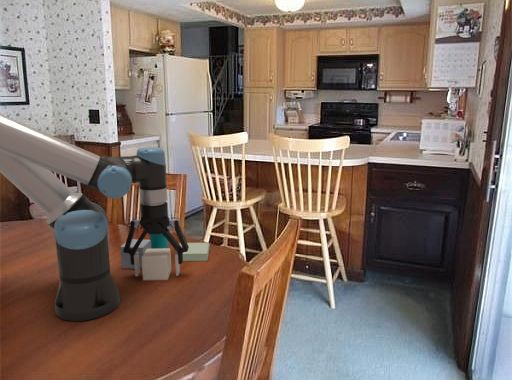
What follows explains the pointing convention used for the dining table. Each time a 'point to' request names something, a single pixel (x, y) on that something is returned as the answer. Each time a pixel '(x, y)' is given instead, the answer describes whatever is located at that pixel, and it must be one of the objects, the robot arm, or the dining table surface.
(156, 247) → the beverage can
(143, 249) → the gray cube
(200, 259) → the base plate
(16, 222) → the dining table surface
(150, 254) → the cream brick
